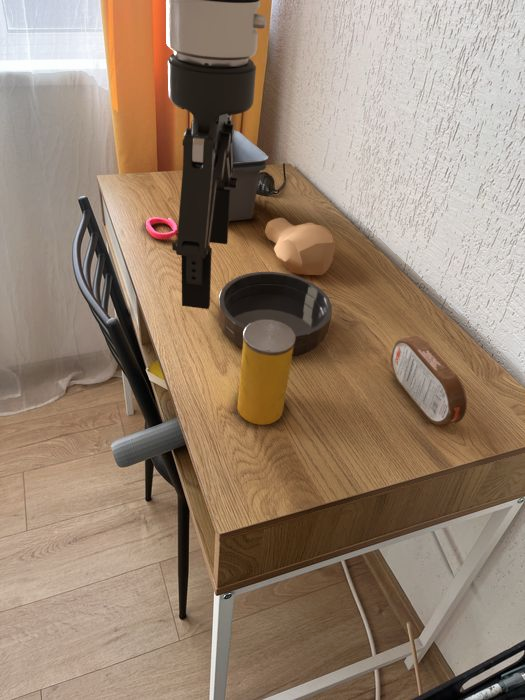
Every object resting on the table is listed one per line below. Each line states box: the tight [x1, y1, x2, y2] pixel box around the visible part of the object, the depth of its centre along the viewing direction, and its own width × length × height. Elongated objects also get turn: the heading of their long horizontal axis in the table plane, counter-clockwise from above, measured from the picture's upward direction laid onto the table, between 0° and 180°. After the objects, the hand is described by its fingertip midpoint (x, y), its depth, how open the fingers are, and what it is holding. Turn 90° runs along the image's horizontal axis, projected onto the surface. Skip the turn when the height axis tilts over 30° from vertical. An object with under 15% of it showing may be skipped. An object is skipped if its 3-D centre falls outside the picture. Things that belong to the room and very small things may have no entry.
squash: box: [264, 217, 336, 276], centre depth 104 cm, size 11×20×9 cm, turn 28°
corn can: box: [237, 320, 295, 426], centre depth 70 cm, size 6×6×13 cm
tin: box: [390, 334, 468, 427], centre depth 75 cm, size 15×3×8 cm, turn 21°
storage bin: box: [183, 129, 270, 222], centre depth 118 cm, size 21×16×14 cm
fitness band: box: [145, 217, 178, 240], centre depth 110 cm, size 8×6×2 cm
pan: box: [217, 271, 333, 358], centre depth 88 cm, size 19×19×4 cm
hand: (206, 271), depth 58 cm, fingers open, 13 cm apart
